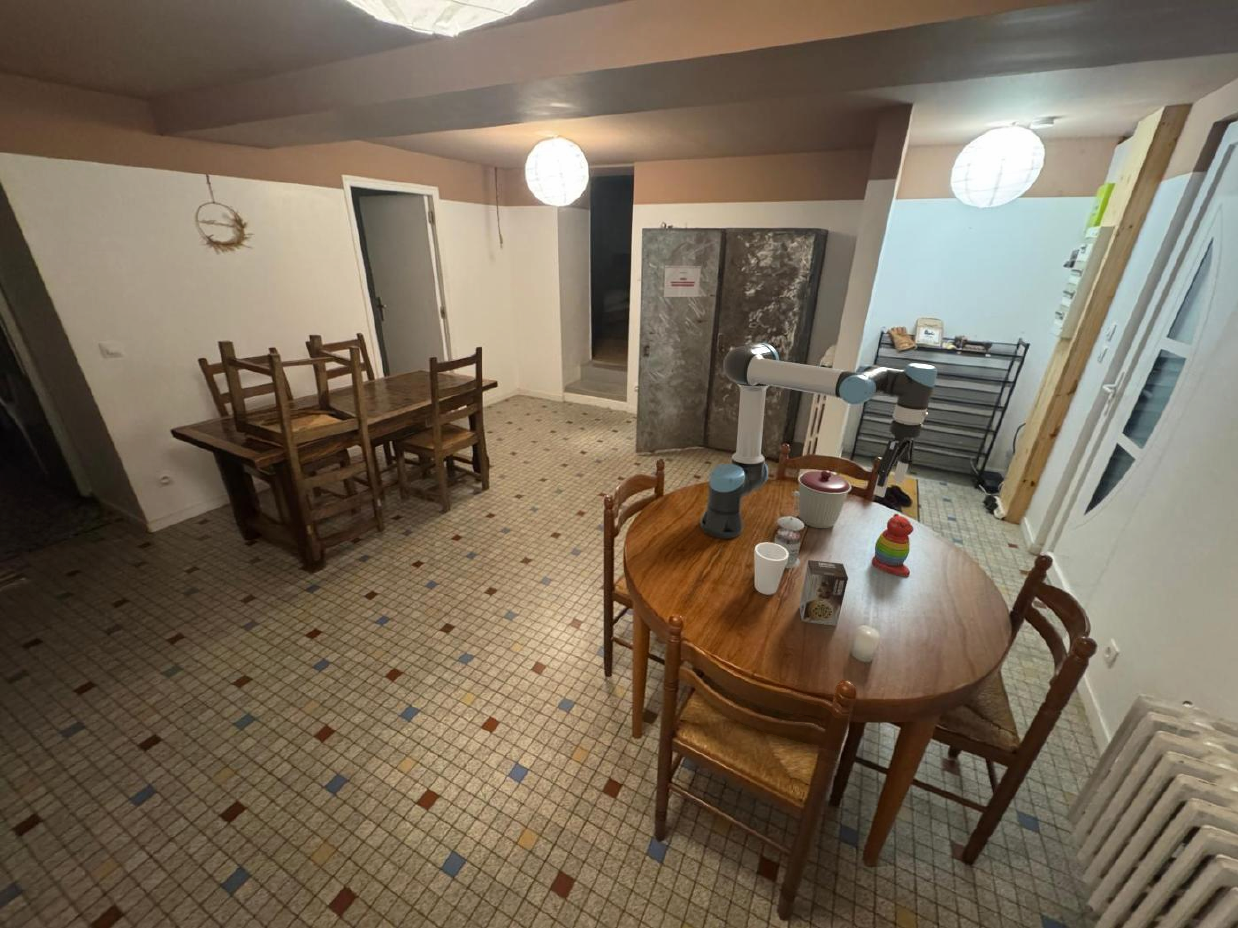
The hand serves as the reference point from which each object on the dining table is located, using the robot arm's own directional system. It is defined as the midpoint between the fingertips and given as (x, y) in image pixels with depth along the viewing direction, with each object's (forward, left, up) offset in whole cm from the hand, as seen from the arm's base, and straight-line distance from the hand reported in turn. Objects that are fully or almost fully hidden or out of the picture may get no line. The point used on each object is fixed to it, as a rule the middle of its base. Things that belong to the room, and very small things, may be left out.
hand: (888, 488), depth 138 cm
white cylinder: (+7, -40, -28) cm, 50 cm away
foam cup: (-22, -30, -29) cm, 47 cm away
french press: (-23, -11, -29) cm, 38 cm away
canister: (-22, +20, -29) cm, 41 cm away
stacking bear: (+5, +6, -29) cm, 30 cm away
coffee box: (-6, -33, -29) cm, 44 cm away
